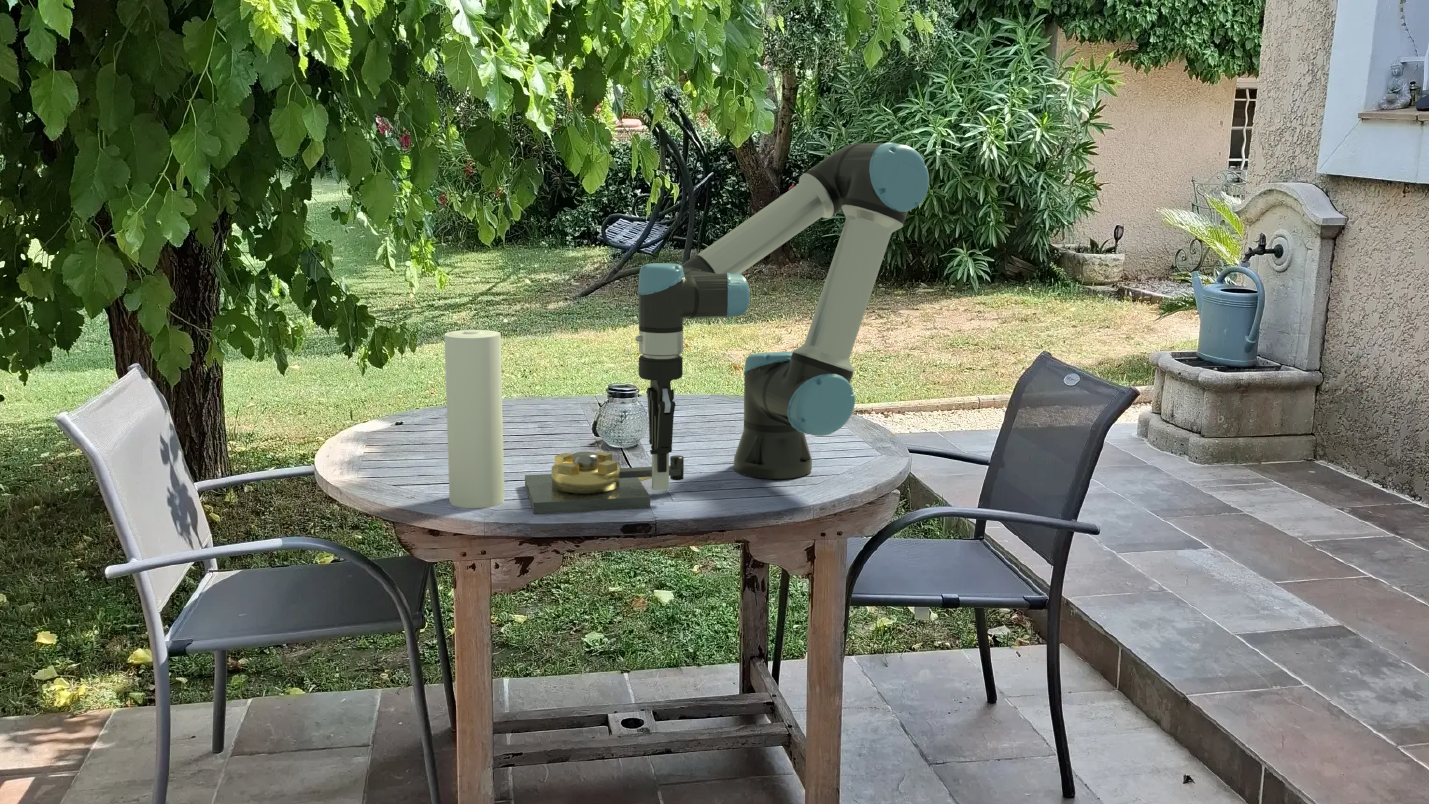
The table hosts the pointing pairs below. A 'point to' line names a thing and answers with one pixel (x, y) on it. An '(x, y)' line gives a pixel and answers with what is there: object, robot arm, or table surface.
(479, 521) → the table surface
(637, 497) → the collar plate
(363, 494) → the table surface
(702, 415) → the table surface
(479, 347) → the cylinder container
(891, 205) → the robot arm
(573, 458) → the ring nut
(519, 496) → the table surface
